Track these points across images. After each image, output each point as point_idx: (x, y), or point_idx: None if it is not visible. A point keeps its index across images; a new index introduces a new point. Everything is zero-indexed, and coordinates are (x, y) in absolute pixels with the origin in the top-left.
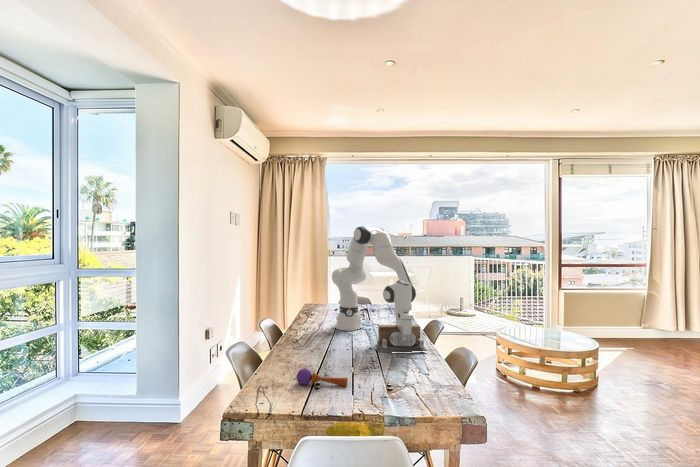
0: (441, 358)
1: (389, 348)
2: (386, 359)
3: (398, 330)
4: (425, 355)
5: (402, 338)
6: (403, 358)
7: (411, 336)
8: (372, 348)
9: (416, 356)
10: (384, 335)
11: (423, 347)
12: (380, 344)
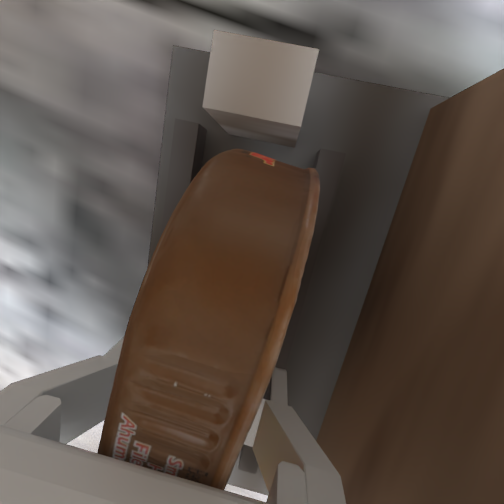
0: None
1: (175, 143)
2: (27, 49)
3: (162, 425)
4: None
5: (117, 348)
6: (46, 218)
7: None
8: (391, 4)
9: (83, 335)
10: (489, 161)
11: None
12: (411, 114)
